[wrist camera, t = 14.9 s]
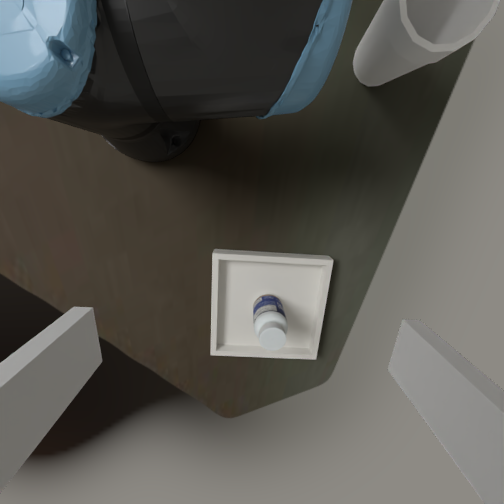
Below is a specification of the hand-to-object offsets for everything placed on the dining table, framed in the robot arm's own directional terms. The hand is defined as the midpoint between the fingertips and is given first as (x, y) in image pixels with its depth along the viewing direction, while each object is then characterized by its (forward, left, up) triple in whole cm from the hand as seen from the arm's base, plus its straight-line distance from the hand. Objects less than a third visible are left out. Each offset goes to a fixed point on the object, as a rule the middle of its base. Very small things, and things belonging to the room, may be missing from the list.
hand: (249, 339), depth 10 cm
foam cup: (+17, +24, -31) cm, 42 cm away
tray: (+5, -15, -31) cm, 34 cm away
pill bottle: (+5, -15, -30) cm, 34 cm away
